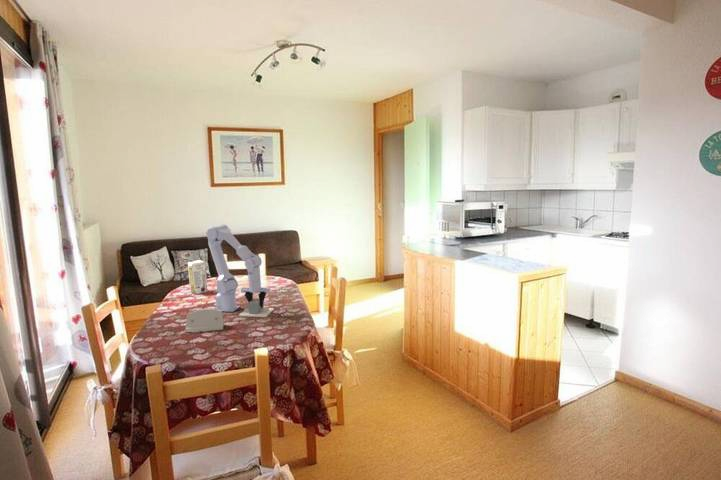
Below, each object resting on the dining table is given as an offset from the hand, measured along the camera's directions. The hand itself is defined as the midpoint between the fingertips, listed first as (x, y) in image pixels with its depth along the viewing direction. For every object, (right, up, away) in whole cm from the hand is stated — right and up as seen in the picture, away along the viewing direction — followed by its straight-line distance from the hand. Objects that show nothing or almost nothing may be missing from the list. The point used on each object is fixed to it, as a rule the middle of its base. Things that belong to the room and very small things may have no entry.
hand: (256, 306), depth 205 cm
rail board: (0, -3, +1) cm, 3 cm away
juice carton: (-45, +2, +40) cm, 60 cm away
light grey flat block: (-19, -7, -18) cm, 27 cm away
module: (0, -2, 0) cm, 2 cm away
